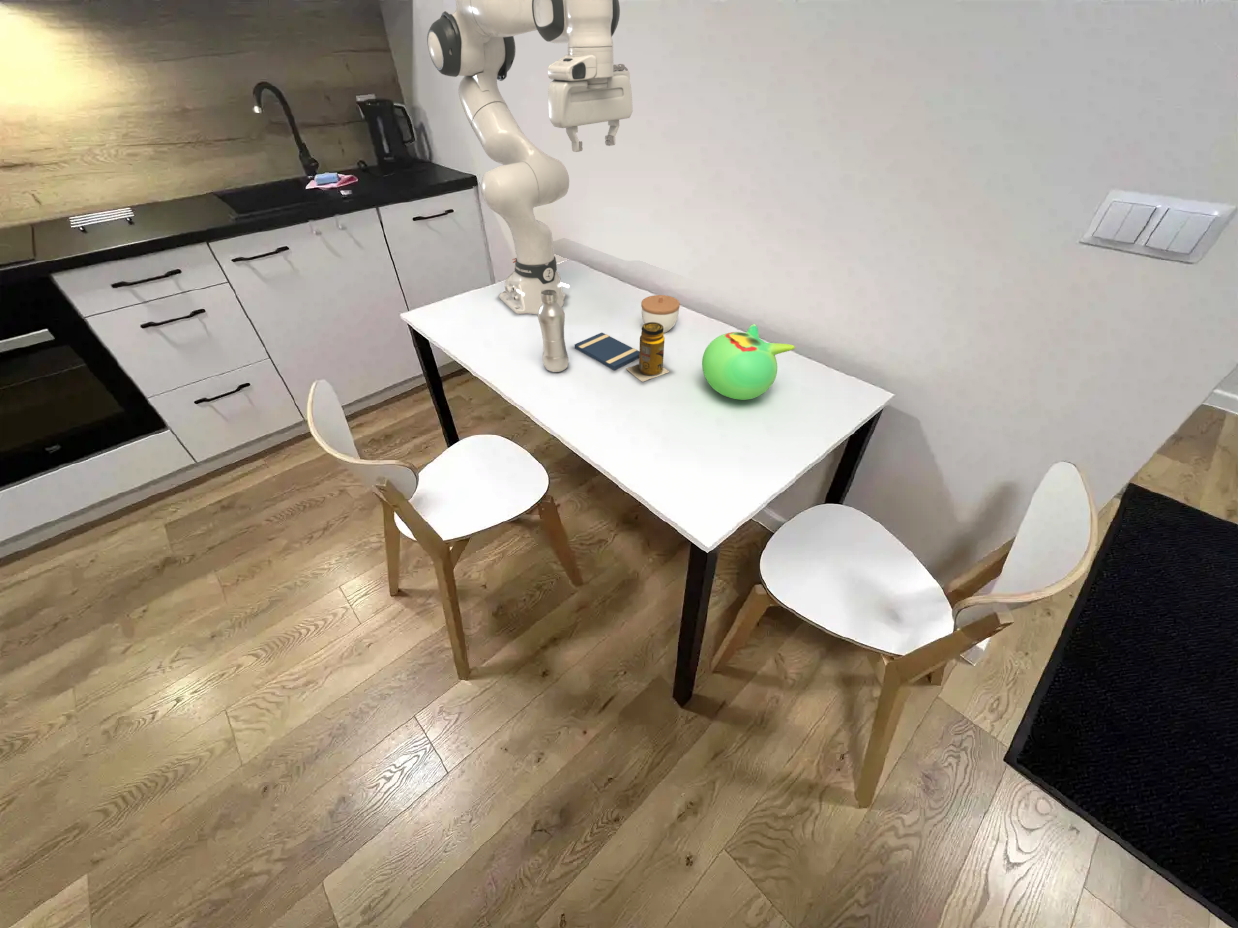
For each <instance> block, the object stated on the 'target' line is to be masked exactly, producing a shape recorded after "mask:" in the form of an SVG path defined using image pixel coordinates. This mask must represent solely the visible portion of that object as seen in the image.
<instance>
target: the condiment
mask: <svg viewBox="0 0 1238 928" xmlns="http://www.w3.org/2000/svg"><path fill="white" fill-rule="evenodd" d="M663 330H664V328H663V326H662V325H661V324H660V323H656V322H649V323H645V324H644V323H643V324H642V326H641V333H640V336H639V350H638V351H639V359H638V362H639V363H638V364H637V363H636V364H634V365H633V366H629V367H626V368H625V369H626V370H627V371H628V372H629V373H630V374H631V375H632V376H634V377H635V378H637V379H638V380H639V381H640V382H643V383H644V382H646V381H649V380H651V379H654V378H658V377H661V376H662V375H666V374H669V373H670V370H668V369H667V368H665V367H664V357H665V356H664V354H665V339H666V338H665V336H664V334H665V333H663Z"/></svg>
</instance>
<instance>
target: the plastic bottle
mask: <svg viewBox="0 0 1238 928" xmlns="http://www.w3.org/2000/svg"><path fill="white" fill-rule="evenodd" d="M541 301H542V302H543V303H542V305H541V306H540V308H539V310H538V314H537V319H538V324H539V327H540V332H541V336H542V350H543V351H542V363H543V366H544V368H545V369H546V370H547V371H549V372H553V373H560V372H564V371H565V370H566V369H567V367H568V366H569V361H570V359H569V355H568V354H569V353H568V351H567V346H566V339H565V319H566V314H565V311H564V308H563V306H562V307H561V306H560V305H559V304H558V303H557V301H558V298H557V293H556V291H555V290H551V289H547V290H543V291H542V292H541Z"/></svg>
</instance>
